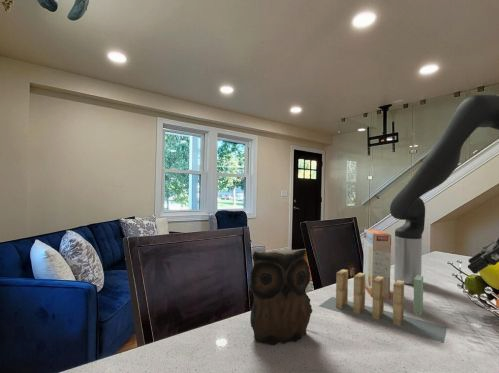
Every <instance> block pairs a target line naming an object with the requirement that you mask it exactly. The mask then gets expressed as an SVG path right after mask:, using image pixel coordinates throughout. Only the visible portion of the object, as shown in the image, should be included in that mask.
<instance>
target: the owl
mask: <svg viewBox="0 0 499 373" xmlns="http://www.w3.org/2000/svg"><path fill="white" fill-rule="evenodd" d="M306 252H307V250H306V249H305V248H303V249H302V248H301V249H281V250H279V249H278V250H271V251H260V252H259V251H256V250H255V251H253V253H252V258H251V259H252V262H253V266H252V269H251V271H250V277H249V278H250V280H249V281H250V284H249V287H250V290H251V292H252V295H253V303H252V307H251V311H250V317H249V318H250V321H249V322H250V326H251V329H252V331H253V333H254V334H253V338H254V341H255V342H256V343H260V344H263V345H267V346H268V345H269V346H276V345H278V344H283V345H284V344H285V345H286V344H288V343H290V342H294V343H297V342H298V341H300V340H301V339H302V338H303V337H304V336H305V335H306V334H307V329H308V326H309V323H310V320H311V315H312V314H313V308H312V305H311V298H310V297H309V296H308V294H307V292H306V290H307V287H308V286H309V284H310V282H311V280H310V279H311V272H310V267H309V264H308V262H307V260H306V258H305V255H306Z"/></svg>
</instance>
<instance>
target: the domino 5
mask: <svg viewBox="0 0 499 373" xmlns="http://www.w3.org/2000/svg"><path fill="white" fill-rule="evenodd" d="M423 311H424V276H423V275H421V276H418V275H417V276H416V277H415V278H414V285H413V314H414V315H417V316H421V315H422V312H423Z"/></svg>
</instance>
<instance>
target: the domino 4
mask: <svg viewBox="0 0 499 373" xmlns="http://www.w3.org/2000/svg"><path fill="white" fill-rule="evenodd" d="M392 286H393V288H392V289H393V290H392V294H393V295H392V313H393V324H396V325H399V326H400V325H401V323H402V321H403V320H404V316H405V283H404V281H401V280H397V281H396V280H395V282H394V283H393V285H392Z"/></svg>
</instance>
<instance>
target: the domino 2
mask: <svg viewBox="0 0 499 373" xmlns="http://www.w3.org/2000/svg"><path fill="white" fill-rule="evenodd" d="M352 302H353V312H354V313H357V314H360V313H361V312H362V311H363V310H364V309H365V306H366V289H365V273H363V272H358V273H357V274H355V275H354V276H353V301H352Z"/></svg>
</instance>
